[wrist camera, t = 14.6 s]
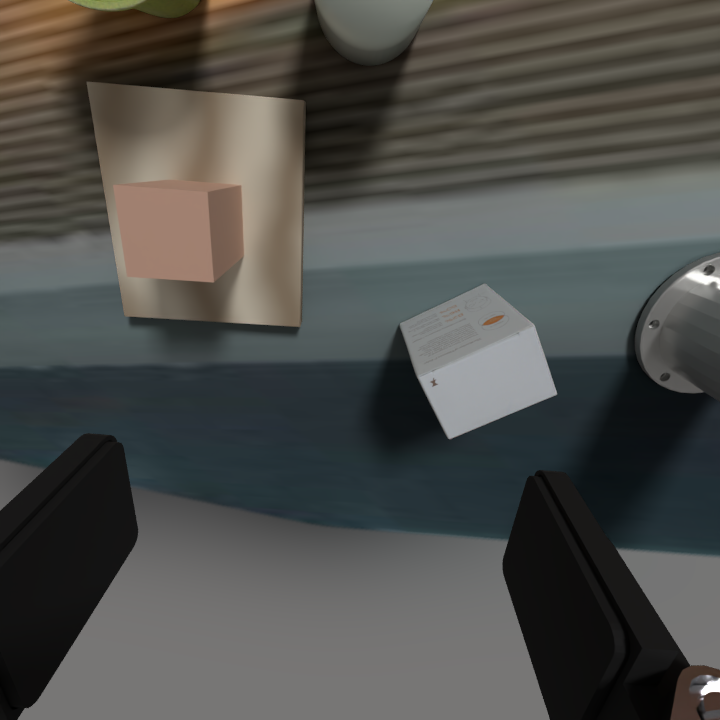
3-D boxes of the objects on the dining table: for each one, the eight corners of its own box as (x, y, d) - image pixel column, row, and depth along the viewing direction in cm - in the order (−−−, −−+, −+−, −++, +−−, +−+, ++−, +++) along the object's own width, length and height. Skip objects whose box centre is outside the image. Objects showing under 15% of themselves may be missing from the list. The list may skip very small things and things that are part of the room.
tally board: (305, 103, 30) (303, 100, 29) (302, 320, 37) (300, 326, 35) (98, 85, 29) (86, 81, 28) (133, 310, 36) (124, 316, 34)
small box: (422, 374, 39) (446, 443, 29) (397, 322, 37) (414, 378, 27) (507, 337, 38) (560, 397, 28) (486, 280, 35) (536, 324, 26)
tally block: (241, 184, 31) (207, 191, 23) (243, 255, 33) (213, 282, 25) (169, 179, 30) (113, 184, 23) (177, 251, 32) (127, 276, 25)
